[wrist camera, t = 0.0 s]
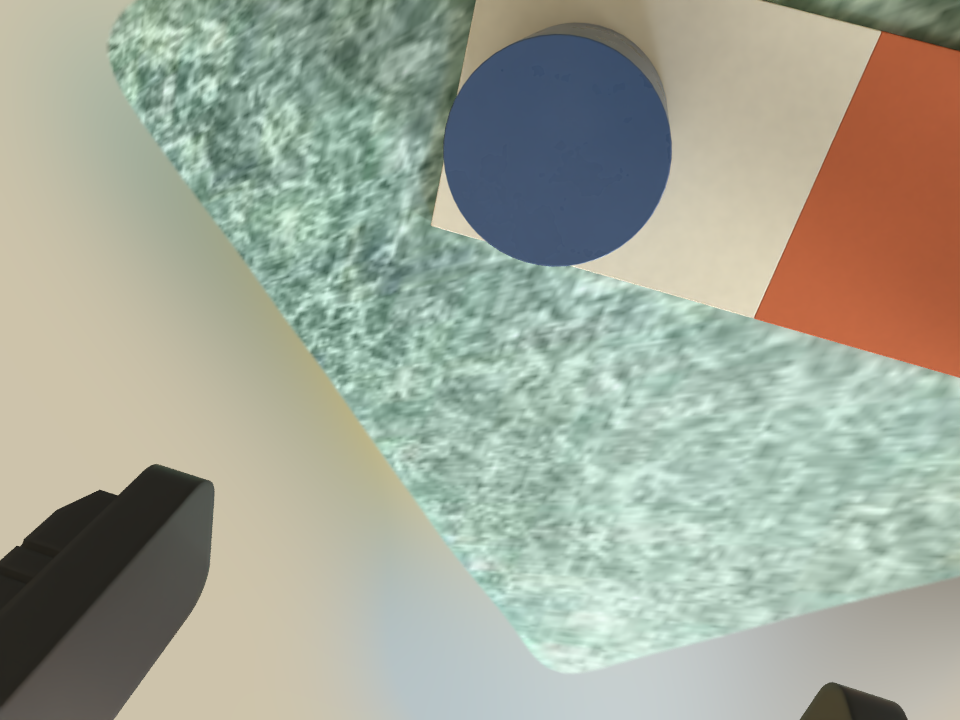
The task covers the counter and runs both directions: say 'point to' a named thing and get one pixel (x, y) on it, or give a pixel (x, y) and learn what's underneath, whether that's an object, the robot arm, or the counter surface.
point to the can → (560, 145)
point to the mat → (785, 168)
